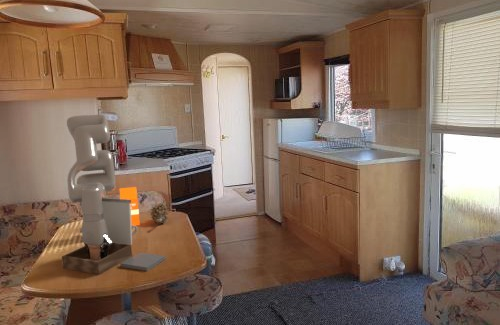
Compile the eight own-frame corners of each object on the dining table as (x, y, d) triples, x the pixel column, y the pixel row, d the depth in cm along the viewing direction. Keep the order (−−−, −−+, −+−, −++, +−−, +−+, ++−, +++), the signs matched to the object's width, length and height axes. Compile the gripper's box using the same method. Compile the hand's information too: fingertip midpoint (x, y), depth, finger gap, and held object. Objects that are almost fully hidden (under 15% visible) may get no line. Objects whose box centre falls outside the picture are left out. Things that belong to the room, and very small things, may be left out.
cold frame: (63, 268, 164) (61, 256, 164) (97, 251, 181) (96, 240, 181) (99, 274, 157) (98, 262, 156) (132, 256, 174) (131, 245, 173)
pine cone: (150, 219, 226) (149, 202, 225) (168, 217, 229) (167, 200, 227) (151, 231, 205) (150, 212, 204) (171, 229, 208) (169, 210, 206)
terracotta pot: (86, 263, 168) (82, 234, 166) (98, 256, 174) (95, 229, 172) (98, 265, 165) (95, 236, 163) (110, 258, 171) (107, 231, 169)
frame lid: (131, 244, 173) (132, 243, 174) (129, 200, 171) (130, 199, 172) (96, 239, 181) (98, 239, 182) (94, 197, 179) (96, 197, 180)
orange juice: (122, 223, 223) (119, 187, 220) (139, 220, 225) (136, 185, 222) (122, 227, 215) (119, 190, 212) (140, 224, 218) (136, 188, 215)
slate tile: (120, 266, 163) (120, 263, 163) (140, 255, 174) (139, 252, 174) (147, 271, 158) (147, 267, 158) (165, 259, 169) (165, 255, 169)
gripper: (70, 217, 166) (75, 259, 169) (103, 221, 159) (108, 265, 162) (84, 212, 173) (89, 252, 176) (116, 215, 166) (120, 257, 169)
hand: (98, 258), depth 169 cm, fingers closed on terracotta pot, 6 cm apart
